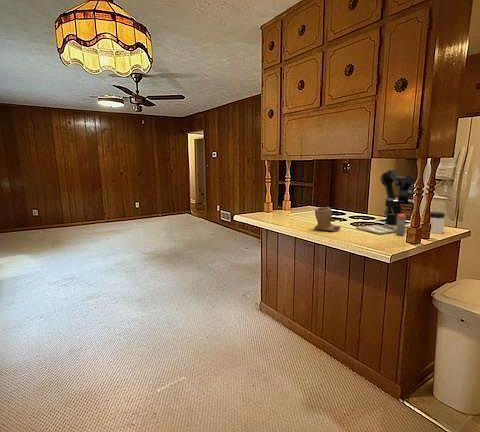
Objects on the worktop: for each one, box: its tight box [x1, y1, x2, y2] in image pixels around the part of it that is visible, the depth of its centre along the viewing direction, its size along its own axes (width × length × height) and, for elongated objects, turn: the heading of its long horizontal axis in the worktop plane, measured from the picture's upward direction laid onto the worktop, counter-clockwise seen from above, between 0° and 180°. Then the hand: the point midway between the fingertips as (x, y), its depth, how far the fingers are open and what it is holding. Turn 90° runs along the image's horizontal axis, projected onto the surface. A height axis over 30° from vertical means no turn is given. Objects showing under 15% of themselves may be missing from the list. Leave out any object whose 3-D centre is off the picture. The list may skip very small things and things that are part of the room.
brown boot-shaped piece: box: [314, 206, 342, 232], centre depth 189 cm, size 15×12×15 cm
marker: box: [395, 213, 407, 237], centre depth 175 cm, size 4×4×12 cm
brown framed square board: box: [355, 224, 397, 236], centre depth 189 cm, size 19×19×2 cm
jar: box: [430, 211, 446, 234], centre depth 182 cm, size 9×8×12 cm
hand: (401, 213), depth 179 cm, fingers open, 9 cm apart
